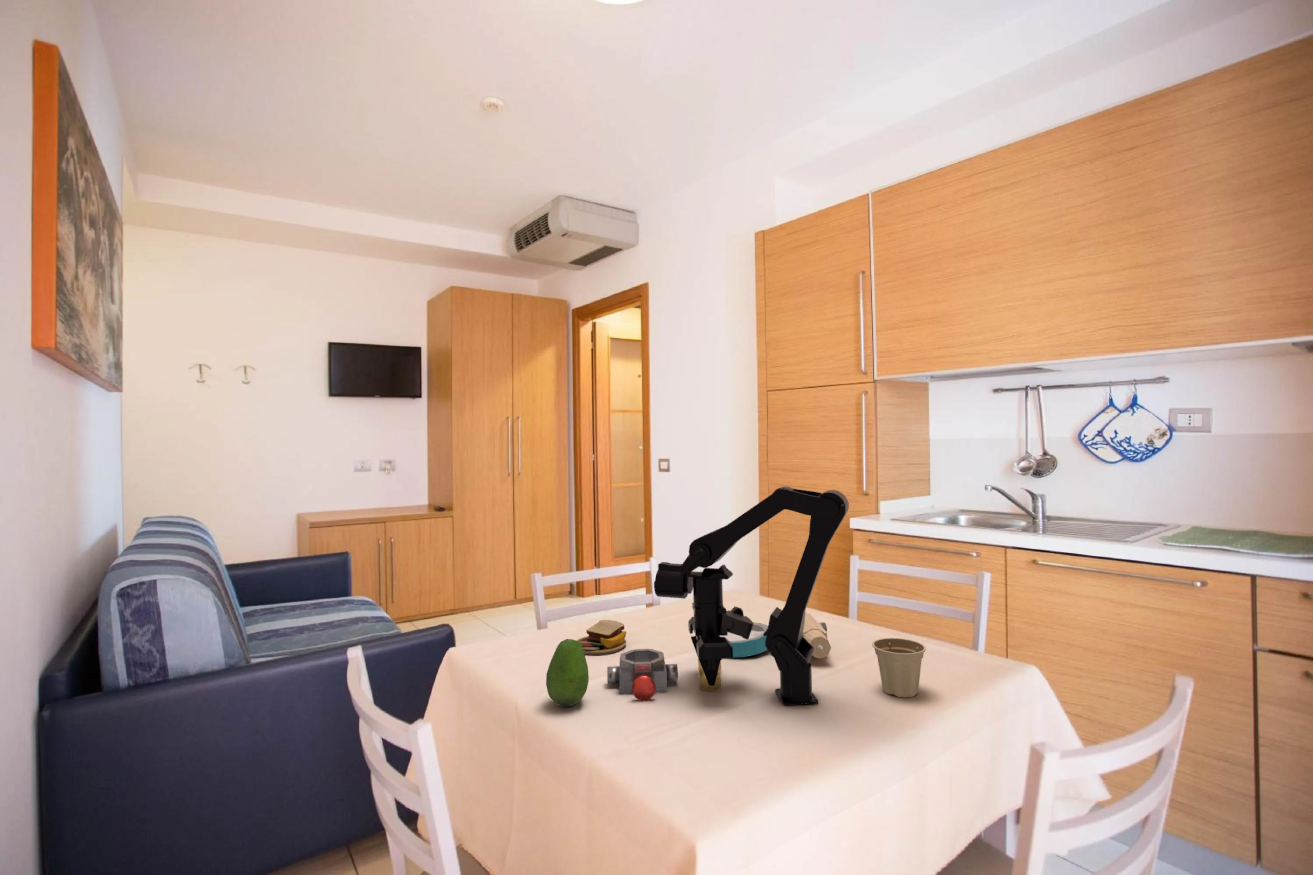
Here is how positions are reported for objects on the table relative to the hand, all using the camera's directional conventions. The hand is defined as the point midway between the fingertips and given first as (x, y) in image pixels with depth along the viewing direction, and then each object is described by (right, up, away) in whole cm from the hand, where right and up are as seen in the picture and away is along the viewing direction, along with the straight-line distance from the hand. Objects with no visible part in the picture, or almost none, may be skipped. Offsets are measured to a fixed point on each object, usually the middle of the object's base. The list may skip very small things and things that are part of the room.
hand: (710, 680), depth 120 cm
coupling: (0, -1, 0) cm, 1 cm away
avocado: (-27, -2, -6) cm, 27 cm away
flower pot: (+35, -1, -4) cm, 36 cm away
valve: (-13, -1, 0) cm, 13 cm away
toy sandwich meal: (-24, -3, +26) cm, 36 cm away
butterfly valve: (+14, -2, +22) cm, 26 cm away
